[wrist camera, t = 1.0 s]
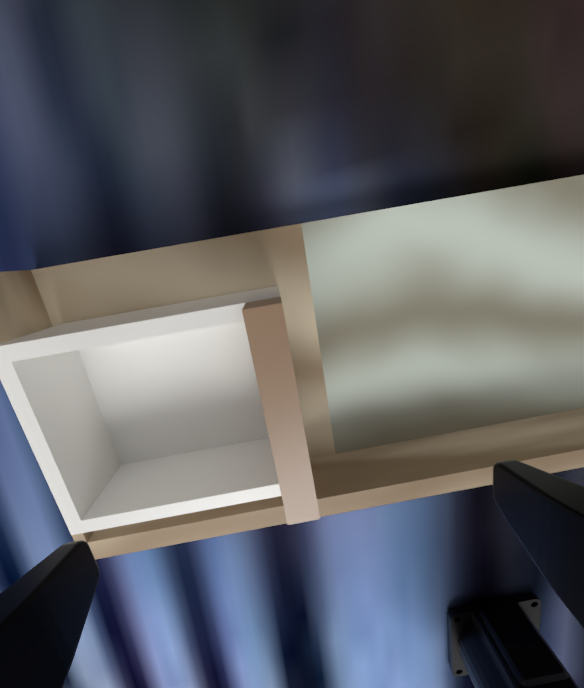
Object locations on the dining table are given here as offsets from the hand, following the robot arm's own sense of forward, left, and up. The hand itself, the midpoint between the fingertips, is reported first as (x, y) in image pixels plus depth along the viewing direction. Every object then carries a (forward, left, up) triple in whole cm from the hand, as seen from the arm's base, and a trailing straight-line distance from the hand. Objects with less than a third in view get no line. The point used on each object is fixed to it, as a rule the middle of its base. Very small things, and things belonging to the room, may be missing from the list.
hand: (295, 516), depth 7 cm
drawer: (0, +4, -9) cm, 10 cm away
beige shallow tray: (0, -3, -10) cm, 11 cm away
